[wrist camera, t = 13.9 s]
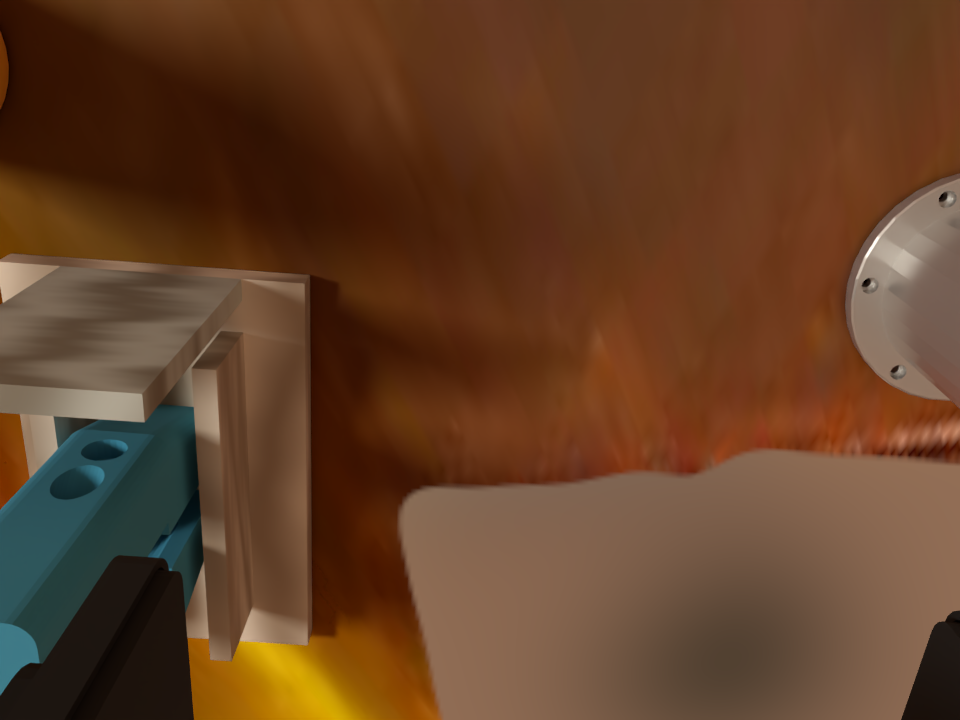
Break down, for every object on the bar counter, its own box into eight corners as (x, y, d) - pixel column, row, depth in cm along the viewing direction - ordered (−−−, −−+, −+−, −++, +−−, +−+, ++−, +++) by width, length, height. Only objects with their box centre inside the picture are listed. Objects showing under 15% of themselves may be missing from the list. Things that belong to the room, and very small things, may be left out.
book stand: (310, 274, 47) (230, 400, 33) (312, 629, 56) (251, 846, 42) (11, 253, 47) (-201, 370, 32) (63, 612, 56) (-83, 826, 42)
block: (118, 372, 48) (-116, 614, 29) (210, 380, 48) (33, 625, 29) (135, 554, 52) (-59, 861, 34) (218, 560, 52) (71, 869, 34)
